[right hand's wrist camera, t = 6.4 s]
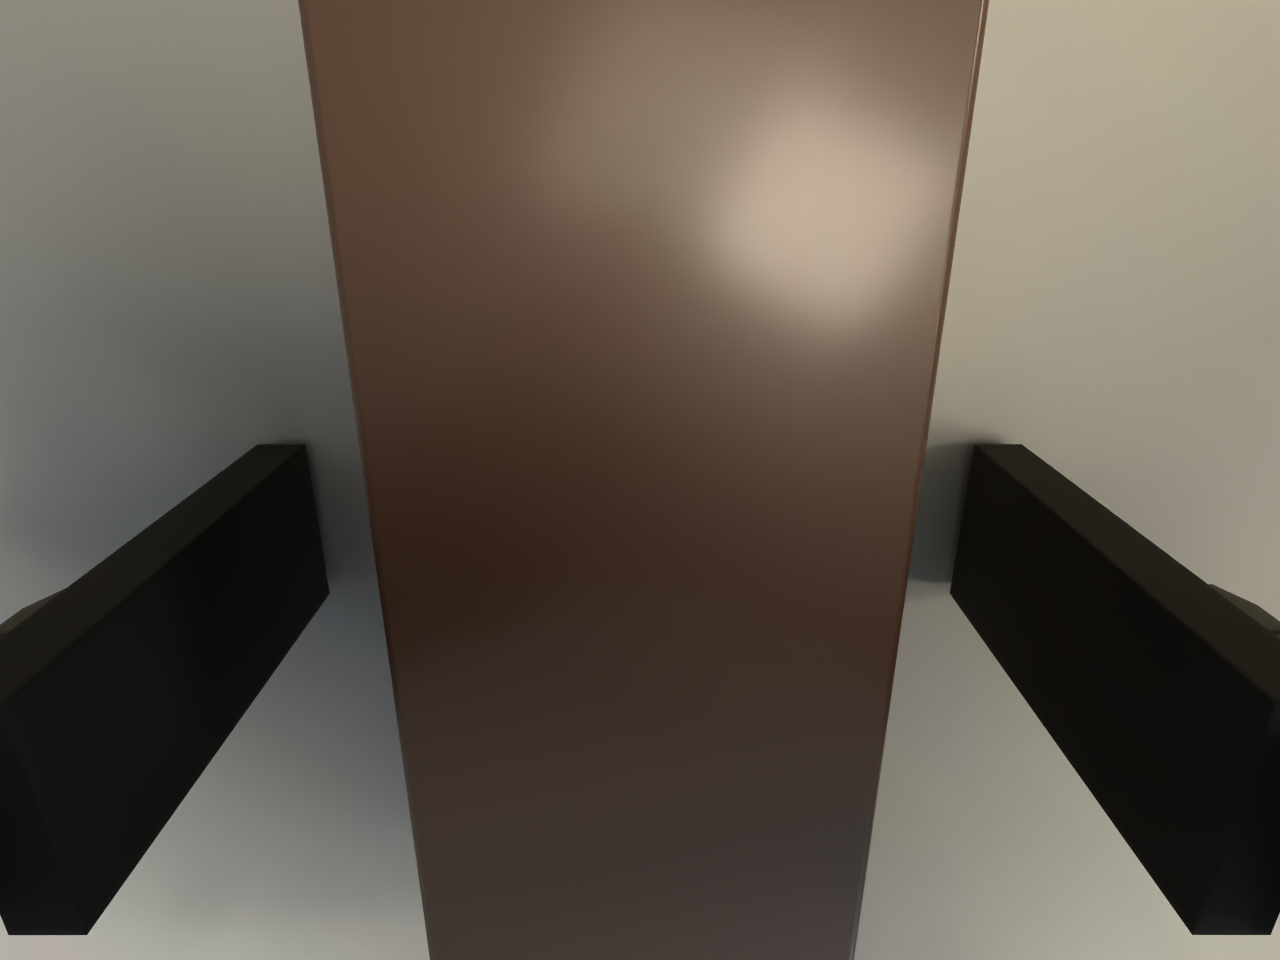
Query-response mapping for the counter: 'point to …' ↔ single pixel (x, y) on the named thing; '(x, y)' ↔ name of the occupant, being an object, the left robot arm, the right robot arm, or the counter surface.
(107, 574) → the right robot arm
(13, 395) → the counter surface
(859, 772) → the walnut rail
